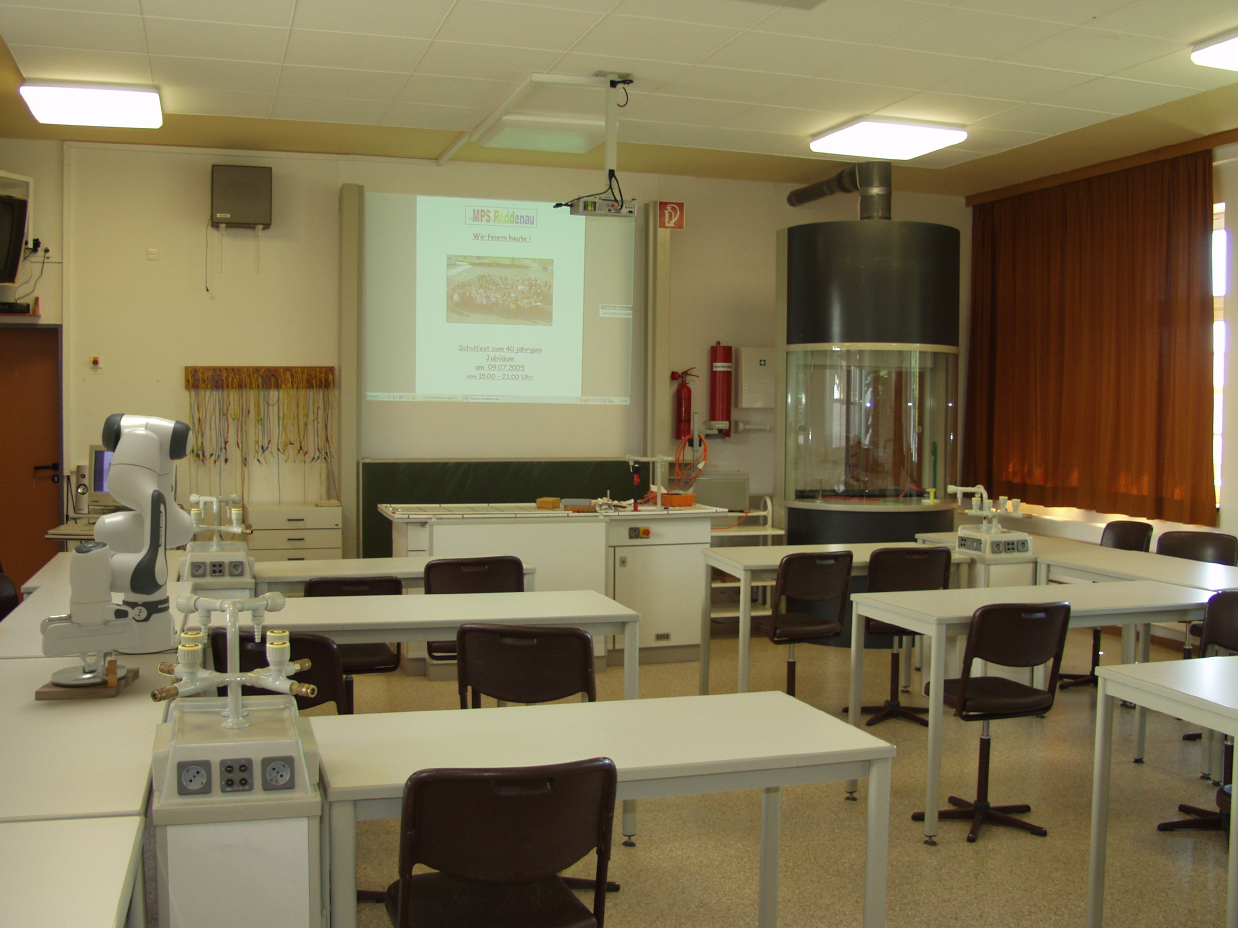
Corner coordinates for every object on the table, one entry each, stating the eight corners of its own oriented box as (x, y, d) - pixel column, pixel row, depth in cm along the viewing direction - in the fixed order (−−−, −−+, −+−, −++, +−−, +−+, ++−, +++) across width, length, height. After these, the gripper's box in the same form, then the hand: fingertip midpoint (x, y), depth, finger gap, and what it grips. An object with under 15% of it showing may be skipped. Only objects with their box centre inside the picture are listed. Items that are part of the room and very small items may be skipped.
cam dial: (36, 680, 240) (36, 650, 239) (99, 666, 254) (99, 638, 253) (79, 689, 232) (79, 658, 232) (141, 674, 246) (141, 645, 246)
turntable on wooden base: (66, 677, 251) (66, 645, 251) (139, 675, 254) (139, 644, 254) (35, 699, 232) (34, 665, 231) (114, 697, 235) (114, 663, 234)
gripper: (42, 619, 227) (42, 679, 228) (140, 610, 239) (141, 667, 240) (38, 614, 232) (39, 673, 233) (135, 605, 244) (135, 662, 245)
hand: (91, 670), depth 237 cm, fingers closed
